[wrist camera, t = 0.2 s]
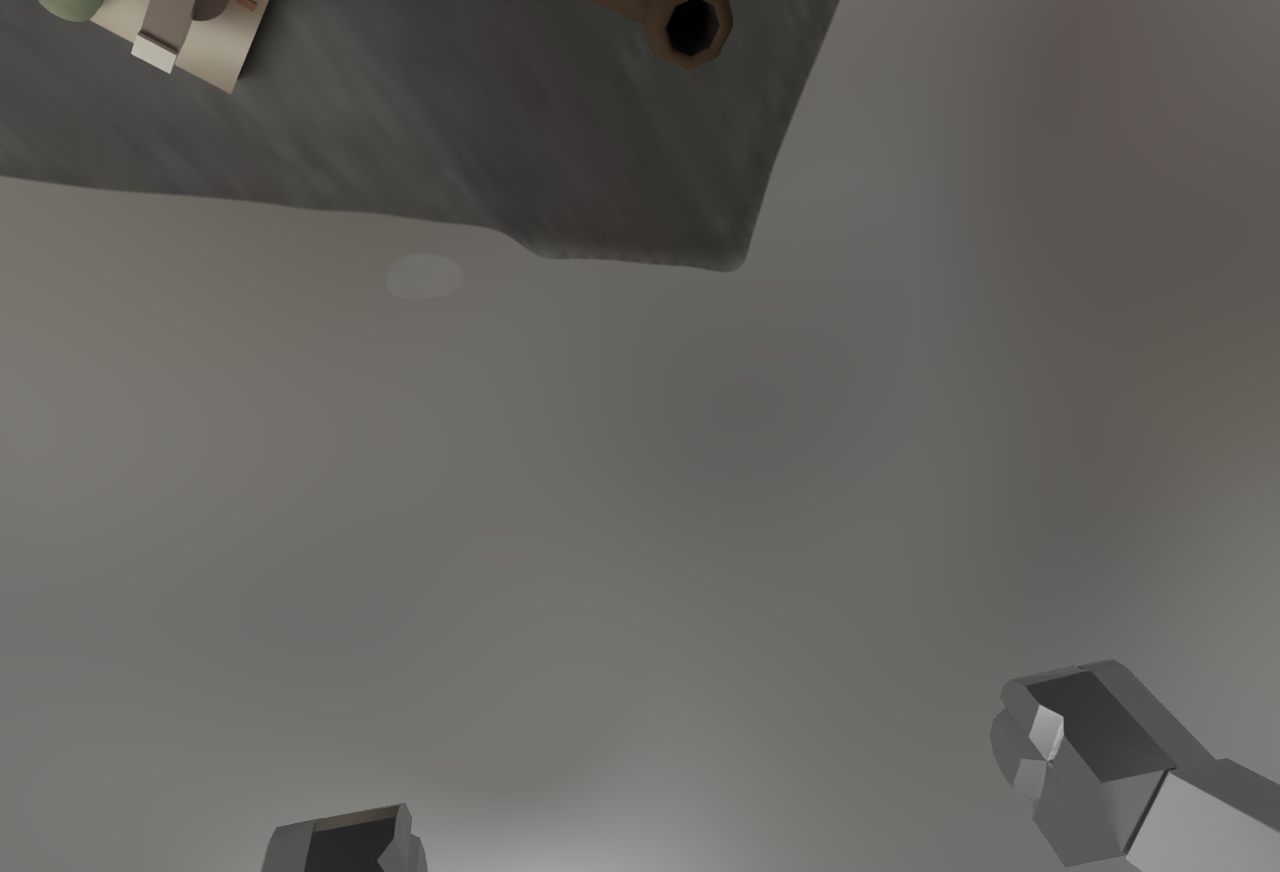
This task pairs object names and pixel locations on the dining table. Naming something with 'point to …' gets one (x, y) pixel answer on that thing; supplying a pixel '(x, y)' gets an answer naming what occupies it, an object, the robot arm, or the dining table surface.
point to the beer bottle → (680, 27)
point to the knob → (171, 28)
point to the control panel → (208, 44)
